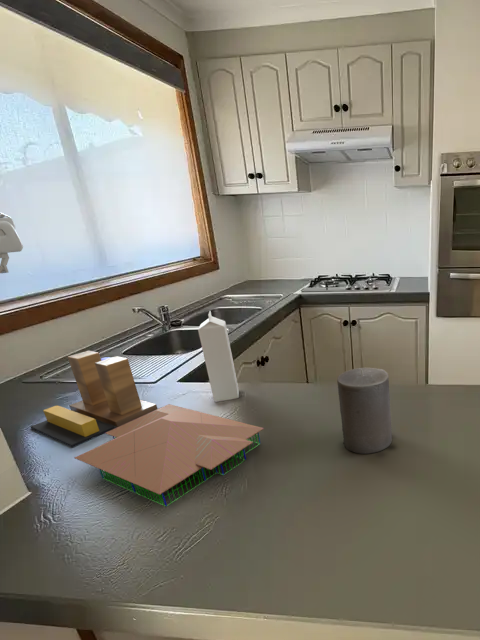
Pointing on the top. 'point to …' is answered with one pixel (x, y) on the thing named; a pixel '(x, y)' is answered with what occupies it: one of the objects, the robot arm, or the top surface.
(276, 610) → the top surface
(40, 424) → the mat
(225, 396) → the milk
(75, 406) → the tower
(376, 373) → the pillar candle
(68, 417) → the bar
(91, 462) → the house
